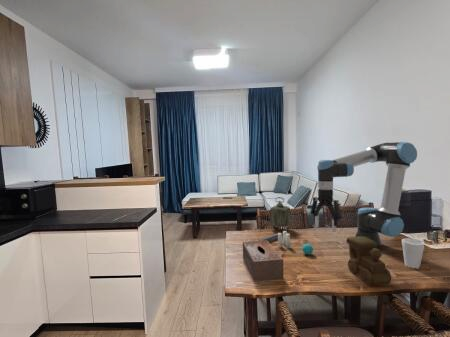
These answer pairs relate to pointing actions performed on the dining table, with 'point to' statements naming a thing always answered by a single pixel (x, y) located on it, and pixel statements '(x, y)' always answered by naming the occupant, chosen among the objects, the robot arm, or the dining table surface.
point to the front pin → (287, 240)
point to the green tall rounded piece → (280, 215)
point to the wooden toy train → (367, 261)
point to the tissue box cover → (262, 260)
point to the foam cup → (412, 252)
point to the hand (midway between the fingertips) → (325, 229)
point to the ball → (307, 249)
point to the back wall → (270, 238)
